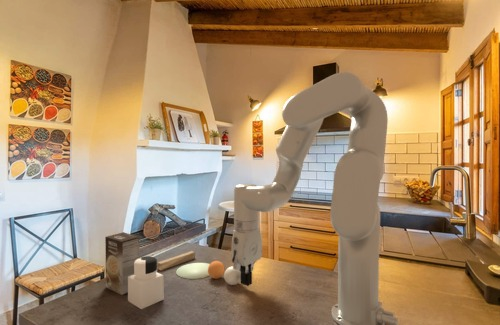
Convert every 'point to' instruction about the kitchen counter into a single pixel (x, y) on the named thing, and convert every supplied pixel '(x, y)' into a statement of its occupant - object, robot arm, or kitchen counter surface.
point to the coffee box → (120, 260)
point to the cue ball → (232, 276)
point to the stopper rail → (175, 260)
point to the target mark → (193, 271)
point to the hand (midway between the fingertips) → (246, 283)
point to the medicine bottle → (145, 283)
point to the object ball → (216, 269)
